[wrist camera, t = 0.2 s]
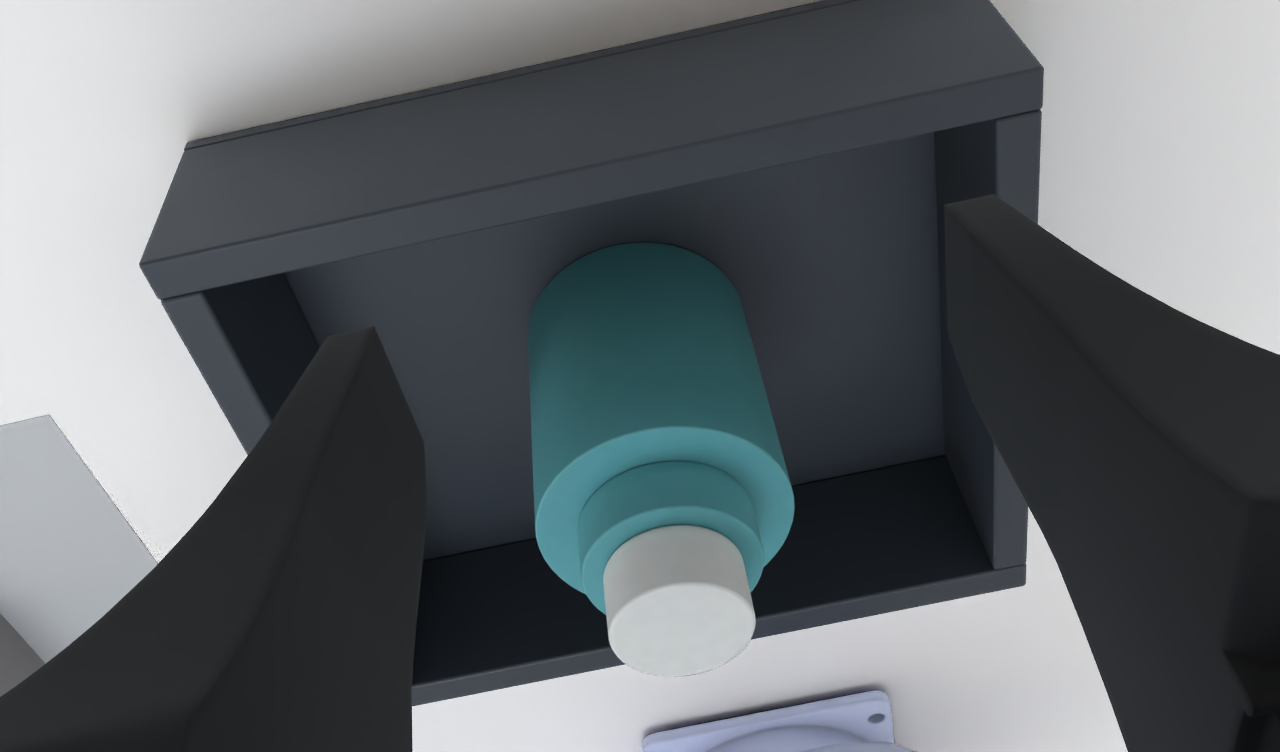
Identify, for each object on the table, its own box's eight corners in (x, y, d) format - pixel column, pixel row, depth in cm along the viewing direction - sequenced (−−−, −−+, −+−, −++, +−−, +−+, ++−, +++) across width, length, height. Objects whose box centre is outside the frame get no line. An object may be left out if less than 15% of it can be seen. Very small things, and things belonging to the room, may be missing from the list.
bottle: (757, 390, 29) (835, 687, 22) (556, 432, 29) (575, 738, 23) (728, 220, 26) (809, 508, 19) (502, 268, 26) (506, 570, 19)
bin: (971, 461, 32) (1026, 586, 28) (402, 576, 32) (392, 711, 29) (965, -32, 23) (1045, 67, 20) (186, 142, 24) (136, 264, 20)
